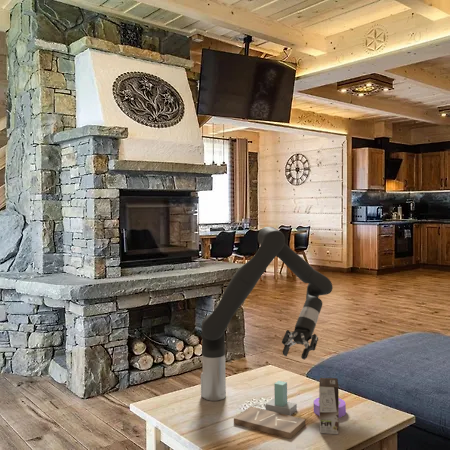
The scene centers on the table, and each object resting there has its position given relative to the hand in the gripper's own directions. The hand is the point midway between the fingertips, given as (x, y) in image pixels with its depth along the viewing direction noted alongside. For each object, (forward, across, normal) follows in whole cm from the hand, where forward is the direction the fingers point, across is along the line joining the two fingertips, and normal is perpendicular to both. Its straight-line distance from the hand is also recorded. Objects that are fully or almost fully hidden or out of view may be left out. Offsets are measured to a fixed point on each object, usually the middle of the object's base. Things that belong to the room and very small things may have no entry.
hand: (293, 356), depth 194 cm
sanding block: (+20, 0, +5) cm, 20 cm away
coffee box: (+22, +21, +4) cm, 31 cm away
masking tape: (+14, +14, +13) cm, 24 cm away
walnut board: (+28, +4, -4) cm, 29 cm away
